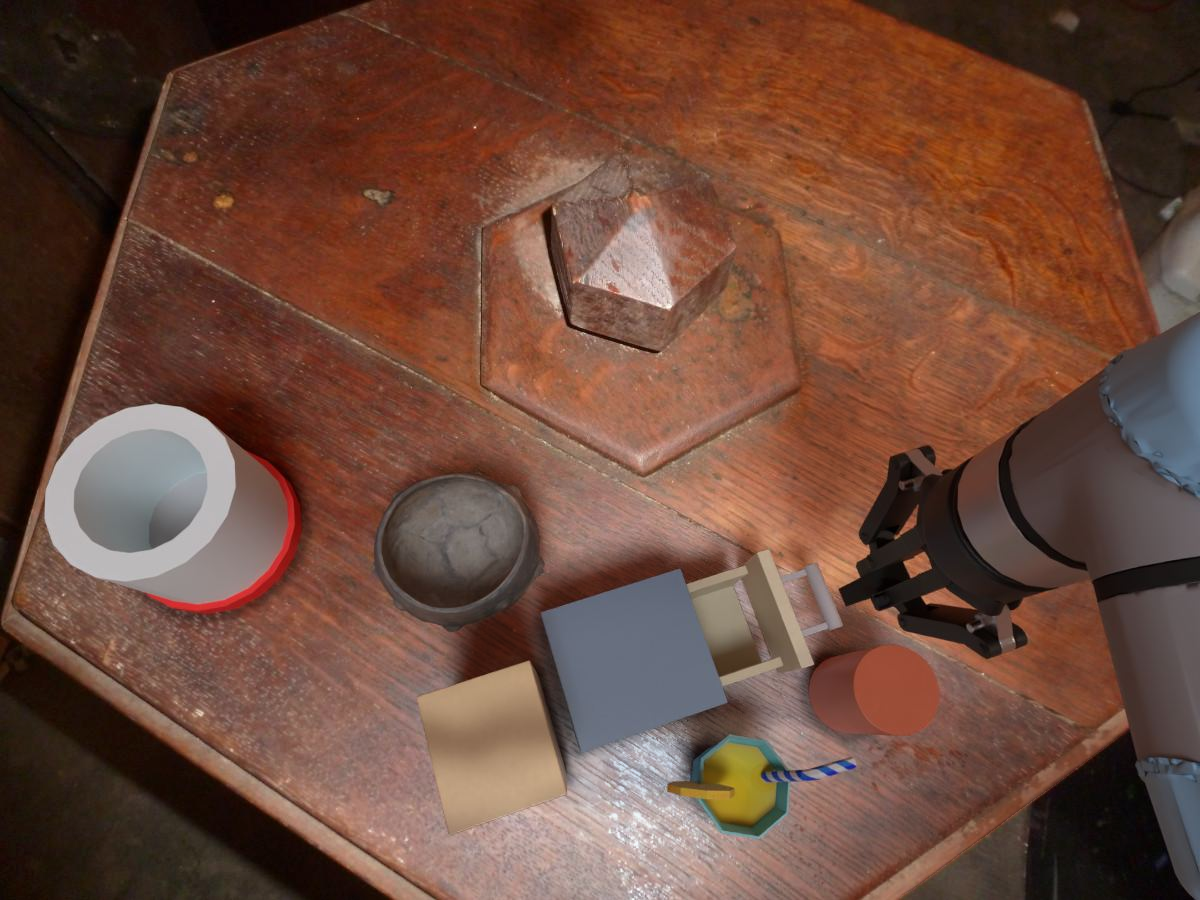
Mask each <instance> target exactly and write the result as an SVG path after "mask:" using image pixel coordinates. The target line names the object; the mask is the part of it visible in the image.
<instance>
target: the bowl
mask: <svg viewBox="0 0 1200 900" xmlns="http://www.w3.org/2000/svg"><path fill="white" fill-rule="evenodd" d="M521 493H522V492H521V490H520V489H519V488H518V487H516V485H514V484H505V483H503V482H501V481H499V480H497V479H495V478H492V477H489V476H486V475H483V474H482V473H481V472H479V471H478V472H473V471H472V472H451V473H444V474H439V475H435V476H432V477H428V478H424V479H422V480H419V481H417V482H415V483H413V484H411V485H409V486H408V487H406V488H404V489H401V490H397V491H396V492H395V493H394V494H393V495H392V496H391V500H390V503H389V504H388V506H387V507H386V510H385V512H384V513H383V514H382V517H381V519H380V521H379V523H378V526H377V528H376V533H375V538H374V544H373V545H374V546H373V564H372V566H371V571H372V572H371V575H372V577H373V578H375V579H378V580H380V583H381V584H382V586H383V588H384V589H385V591H386V592H387V593H388V595H389V596H390V598H391V599H392V602H393V603H392V604H393V605H394V606H395V608H397V609H398V610H399V611H403V612H407V613H408V614H409V615H411V616H412V617H414V618H415V619H417V620H419V621H421V622H424V623H428V624H429V623H430V624H434V625H437V626H440V627H442V628H444V630H446V631H447V632H448V633H458V632H460V630H462V629H463V627H466V626H468V625H473V624H477V623H480V622H482V621H485V620H487V619H489V618H492V617H494V616H495V615H497V614H500V613H501V612H503V611H506V610H508V609H509V608H510V607H511V606H513V605H514V604H516V603H517V602H518V601H519V600H520V599H521V598H522V597H523V596H524V595H525V594H526V593H527V591H528V589H530V587H531V586H532V584H533V583H534V581H536V580H537V579H538V578H539V577H540V576H542V575H543V574H544V573H545V567H546V563H545V561H544V559H543V558H542V556H541V534H540V529H539V526H538V522H537V519H536V516H535V515H534V513H533V511H532V509H531V508H530V506H529V505H528V503H527V501H526V500H525V499H524V497H523V495H522V494H521Z"/></svg>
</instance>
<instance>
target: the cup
mask: <svg viewBox="0 0 1200 900" xmlns="http://www.w3.org/2000/svg"><path fill="white" fill-rule="evenodd" d="M692 761H693V762H692V770H691V778H690V779H691V781H688V780H687V781H686V780H685V781H683V780H673V781H671V782H668V783H667V786H666V788H667V789H666V792H667V793H669V794H672V795H677V796H679V797H688V798H693V799H694V798H696V800H697V801H698V803H699V805H700V806H701V807H702V809H703V810H704V812H705V813H706V815H707V816H708V817H709V818H710V820H711V821H712V823H713V825H715V827H716V829H717V830H718V832H720V834H725V835H729V836H730V835H731V836H737V837H744V838H749V839H755V840H760V839H762V838H763V837H764V836H765V835H766V834H767V833H768V832H770V831H771V830H772V829H773V828H774V827H775V826H776V825H778V824H779V823H780V822H781V821H782V820H783V819H784V818H785V817H787V816H788V815H789V808H790V794H791V793H790V791H791V783H794V782H795V783H796V782H797V783H799V782H801V783H802V782H812V781H819V780H823V779H826V778H829V777H832V776H835V775H838V774H841V773H844V772H847V771H851V770H854V769H856V768H857V762H856V760H855V758H854V757H852V756H849V757H846V758H843V759H839V760H835V761H832V762H828V763H825V764H821V765H817V766H814V767H811V768H805V769H791V770H789V768H788V767H787V765H786V764H785V763H784V761H783V760H782V759H781V757H780V756H779V755H778V753H777V752H776V751H775V750H774V748H773V746H771V744H770V743H769V741H768V740H766V739H760V738H754V737H749V736H742V735H736V734H728V735H727V736H725V737H724V738H723V739H722V740H720V741H719V742H717V743H714V744H712V745H710V746H709V747H708V748H707V749H705V750H703V752H701V753H700V754H699V755H698V756H697V757H696V758H694V759H693V760H692Z"/></svg>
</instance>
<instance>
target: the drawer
mask: <svg viewBox="0 0 1200 900" xmlns="http://www.w3.org/2000/svg"><path fill="white" fill-rule="evenodd" d="M804 577H806V579H807V582H808V583H809V587H810V590H811V591H812V592H811V593H812V594H813V597H814V599H815V602H816V604H817V606H818V609H819V611H820V614H821V616H822V619H823V621H824V622H821V623H818V624H816V625H812V626H809V627H807V628H804V629H801V626H800V624H799V621H798V619H797V616H796V614H795V611H794V608H793V606H792V603H791V601H790V599H789V596H788V593H787V591H786V588H785V586H784V584H786V583H789V582H792V581H795V580H799V579H801V578H804ZM741 580H742V582H743V585H744V588H745V590H746V593H747V596H748V598H749V601H750V603H751V606H752V609H753V612H754V615H755V617H756V620H757V622H758V625H759V628H760V631H761V633H762V635H763V637H764V638H763V639H764V641H765V643H766V646H767V649H768V651H769V655H770V656H771V657H770V659H767V660H763V661H762V659H761V656H760V653H759V651H758V648H757V645H756V642H755V640H754V637H753V634H752V632H751V629H750V626H749V624H748V621H747V619H746V616H745V613H744V611H743V608H742V605H741V603H740V600H739V596H738V594H737V592H736V588H735V586H734V585H736V584H737V583H738V582H739V581H741ZM686 585H687V588H688V591H689V594H690V596H691V599H692V602H693V605H694V608H695V611H696V613H697V616H698V619H699V622H700V625H701V627H702V630H703V633H704V636H705V639H706V642H707V644H708V647H709V650H710V653H711V656H712V659H713V661H714V664H715V667H716V670H717V673H718V676H719V678H720V681H721V684H722V687H726V686H728V685H731V684H734V683H737V682H741V681H743V680H746V679H749V678H751V677H755V676H757V675H760V674H763V673H766V672H769V671H772V670H776V673H777V674H778V675H780V674H784V673H788V672H793V671H797V670H802V669H805V668H809V667H811V666H814V665H815V661H814V659H813V657H812V655H811V652H810V650H809V647H808V645H807V641H806V639H805V637H807V636H811V635H813V634H817V633H819V632H823V631H825V630H827V631H832V630H836V629H839V628H842V627H844V624H843V621H842V619H841V617H840V614H839V612H838V610H837V609H838V608H837V607H836V604H835V601H834V600H833V597H832V594H831V592H830V589H829V587H828V585H827V582H826V580H825V578H824V574H823V573H822V570H821V568H820V565H819V562H813V563H809V564H807V565H805V566H803V567H802V569H800V570H797V571H793V572H791V573H787V574H784V575H782V576H781V575H780V573H779V570H778V568H777V566H776V563H775V560H774V557H773V555H772V553H771V550H770V549H769V548H767V549H764V550H760V551H757V552H756V553H755V554H754V555H753V556H751V557H750V558H749V559H748V560H747V561H746V562H745V563H743V564H742V565H741V566H738V567H735V568H732V569H728V570H725V571H722V572H720V573H716V574H713V575H710V576H706V577H704V578H700V579H698V580H694V581H690V582H688V583H687V582H686Z"/></svg>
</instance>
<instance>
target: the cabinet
mask: <svg viewBox="0 0 1200 900" xmlns="http://www.w3.org/2000/svg"><path fill="white" fill-rule="evenodd" d="M686 584H687V582H686V579H685V577H684V574H683V571H682V569H681V568H680V567H679V568H676V569H674V570H670V571H667V572H664V573H661V574H658V575H655V576H652V577H648V578H645V579H642V580H638V581H635V582H632V583H629V584H625V585H622V586H619V587H617V588H613V589H610V590H607V591H604V592H600V593H598V594H594V595H591V596H588V597H587V596H586V597H584V598H581V599H578V600H575V601H571V602H568V603H566V604H562V605H559V606H556V607H552V608H550V609H546V610H543V611H540V617H541V621H542V625H543V629H544V633H545V636H546V639H547V643H548V646H549V650H550V654H551V657H552V660H553V664H554V667H555V671H556V674H557V679H558V682H559V685H560V688H561V692H562V696H563V699H564V701H565V702H564V703H565V705H566V709H567V713H568V715H569V720H570V722H571V726H572V730H573V733H574V736H575V739H576V743H577V746H578V749H579V751H580V753H581V754H583V753H586V752H590V751H591V750H592V751H593V750H594V749H597V748H601V747H603V746H606V745H610V744H612V743H615V742H618V741H620V740H623V739H627V738H629V737H633V736H636V735H638V734H641V733H644V732H647V731H650V730H652V729H655V728H658V727H661V726H665V725H667V724H670V723H674V722H676V721H679V720H681V719H685V718H688V717H691V716H694V715H697V714H699V713H702V712H705V711H708V710H710V709H713V708H717V707H719V706H722V705H726V704H728V703H729V701H728V698H727V696H726V695H727V694H726V692H725V690H724V686H722V684H721V681H720V678H719V676H718V673H717V670H716V667H715V664H714V661H713V659H712V656H711V653H710V650H709V647H708V644H707V642H706V639H705V636H704V633H703V630H702V627H701V625H700V622H699V619H698V616H697V613H696V611H695V608H694V605H693V602H692V599H691V596H690V594H689V591H688V588H687V585H686Z"/></svg>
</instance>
